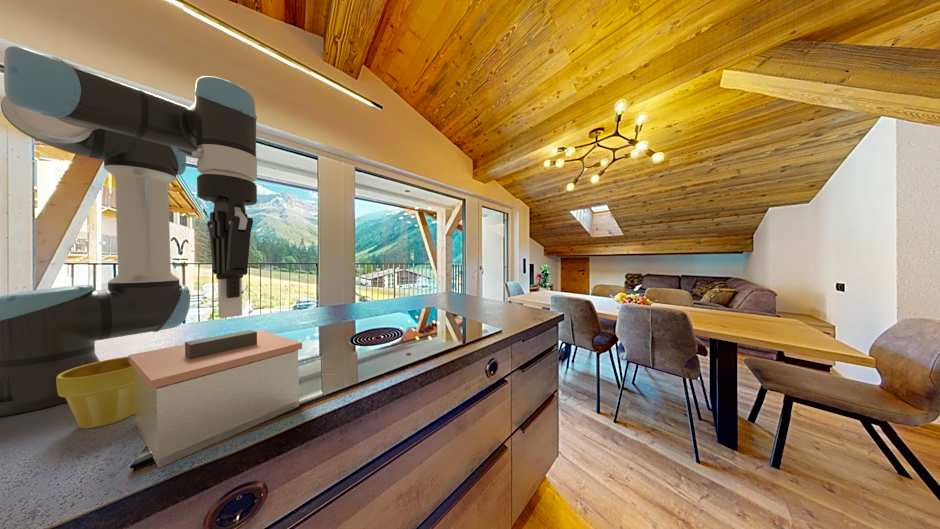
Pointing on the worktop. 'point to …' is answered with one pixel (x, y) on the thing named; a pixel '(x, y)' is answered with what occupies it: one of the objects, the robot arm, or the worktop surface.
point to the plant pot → (99, 392)
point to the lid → (208, 356)
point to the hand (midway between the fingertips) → (230, 316)
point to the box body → (214, 405)
